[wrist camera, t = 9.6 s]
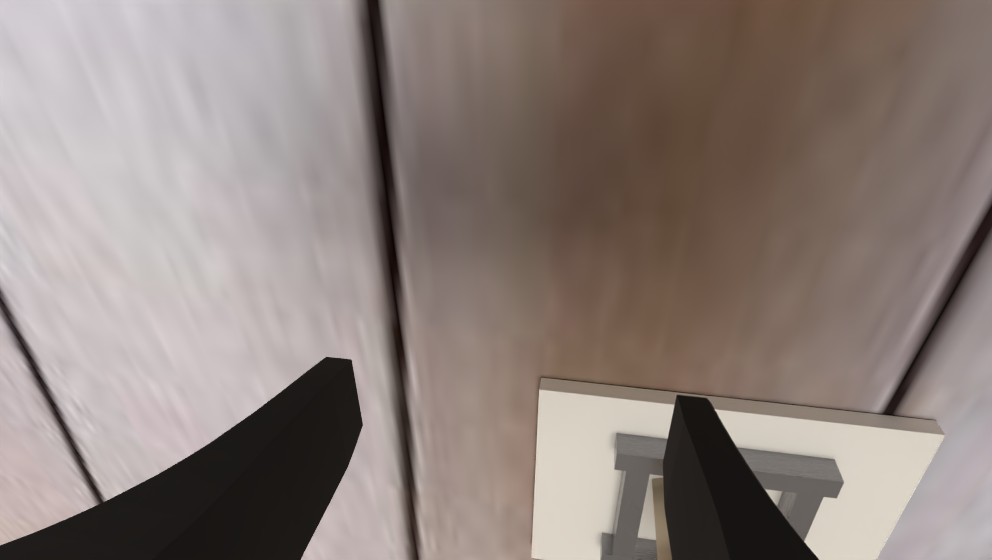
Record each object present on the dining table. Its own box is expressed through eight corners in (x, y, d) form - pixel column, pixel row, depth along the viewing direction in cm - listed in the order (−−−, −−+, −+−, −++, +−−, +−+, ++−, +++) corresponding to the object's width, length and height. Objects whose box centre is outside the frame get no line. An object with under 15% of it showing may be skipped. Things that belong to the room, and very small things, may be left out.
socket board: (935, 420, 23) (960, 458, 22) (844, 591, 30) (858, 631, 28) (541, 377, 26) (536, 408, 24) (533, 544, 32) (528, 578, 30)
